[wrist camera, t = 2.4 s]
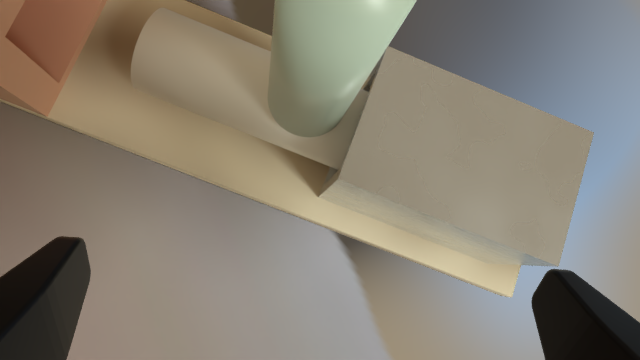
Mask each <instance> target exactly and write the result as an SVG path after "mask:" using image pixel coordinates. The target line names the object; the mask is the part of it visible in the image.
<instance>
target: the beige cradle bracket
mask: <svg viewBox="0 0 640 360" xmlns="http://www.w3.org/2000/svg"><path fill="white" fill-rule="evenodd" d="M416 1H417V0H275V4H274V18H273V31H272V44H271V52H270V51H268V50H266V49H263V48H261V47H258V46H256V45H253V44H251V43H249V42H246V41H244V40H241V39H239V38H236V37H234V36H232V35H229V34H227V33H224V32H222V31H219V30H217V29H215V28H212V27H210V26H207V25H205V24H202V23H200V22H198V21H195V20H193V19H190V18H188V17H185V16H183V15H181V14H178V13H176V12H173V11H171V10H168V9H166V8H159V9H157V10H156V11H155V12H154V13H153V14H152V15H151V16H150V17H149V19H148V20H147V22H146V23H145V25H144V27H143V29H142V31H141V33H140V35H139V38H138V40H137V43H136V46H135V49H134V53H133V57H132V63H131V82H132V85H133V87H134V88H135V89H136V90H138V91H141V92H143V93H146V94H148V95H151V96H153V97H156V98H158V99H161V100H163V101H166V102H169V103H171V104H174V105H176V106H179V107H181V108H184V109H186V110H189V111H191V112H194V113H196V114H199V115H201V116H204V117H206V118H209V119H211V120H214V121H216V122H219V123H221V124H224V125H226V126H229V127H231V128H234V129H236V130H239V131H241V132H244V133H246V134H249V135H251V136H254V137H257V138H259V139H262V140H264V141H267V142H269V143H272V144H274V145H277V146H279V147H282V148H284V149H287V150H289V151H292V152H294V153H297V154H299V155H302V156H304V157H307V158H309V159H312V160H314V161H317V162H319V163H322V164H324V165H327V166H329V167H332V168H334V169H337V170H339V169H340V168H341V165H342V163H343V160H344V157H345V155H346V152H347V149H348V147H349V144H350V141H351V139H352V136H353V133H354V130H355V128H356V125H357V122H358V120H359V117H360V114H361V112H362V109H363V106H364V104H365V101H366V98H367V96H368V93H369V92H368V91H365V90H363V89H361V88H362V86H363V84H364V83H365V81H366V80H367V78H368V77H369V75H370V73H371V72H372V70H373V69H374V67H375V66H376V64H377V62H378V61H379V59H380V58H381V56H382V54H383V53H384V51H385V50H386V48H387V47H388V45H389V43H390V42H391V40H392V38H393V37H394V36H395V34H396V32H397V31H398V29H399V28H400V26H401V25H402V23H403V21H404V20H405V18H406V17H407V15H408V13H409V12H410V10H411V9H412V7H413V6H414V4H415V2H416Z"/></svg>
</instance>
